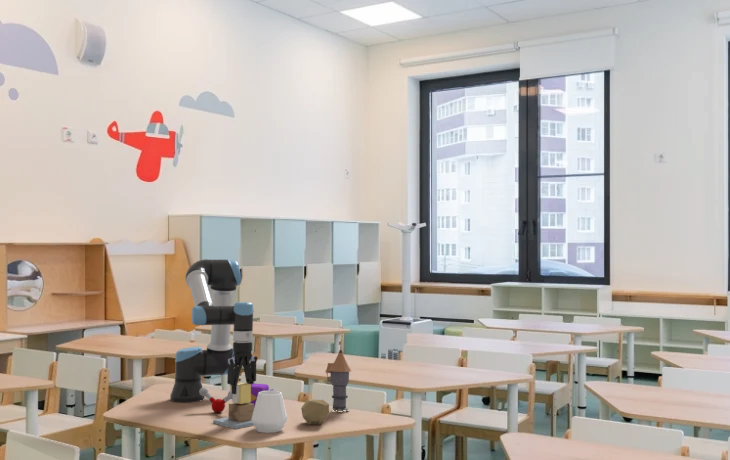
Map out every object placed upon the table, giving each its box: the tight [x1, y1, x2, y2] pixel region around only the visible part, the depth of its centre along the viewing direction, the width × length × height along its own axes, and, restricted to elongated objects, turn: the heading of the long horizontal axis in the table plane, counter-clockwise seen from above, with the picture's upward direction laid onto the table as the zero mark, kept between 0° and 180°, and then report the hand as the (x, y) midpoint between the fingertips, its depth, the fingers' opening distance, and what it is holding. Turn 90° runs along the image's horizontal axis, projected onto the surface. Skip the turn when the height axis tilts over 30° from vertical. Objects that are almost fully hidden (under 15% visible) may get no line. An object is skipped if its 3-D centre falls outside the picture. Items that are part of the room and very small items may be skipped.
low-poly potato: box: [300, 398, 330, 425], centre depth 277 cm, size 15×11×12 cm
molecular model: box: [199, 386, 233, 414], centre depth 294 cm, size 18×6×10 cm, turn 68°
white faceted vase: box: [251, 390, 288, 434], centre depth 265 cm, size 13×13×14 cm
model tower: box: [325, 341, 352, 411], centre depth 302 cm, size 10×11×30 cm
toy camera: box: [249, 381, 275, 407], centre depth 307 cm, size 11×14×10 cm
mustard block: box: [232, 382, 251, 404], centre depth 276 cm, size 5×5×7 cm
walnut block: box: [227, 402, 254, 422], centre depth 276 cm, size 7×7×6 cm
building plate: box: [212, 416, 254, 430], centre depth 276 cm, size 14×16×1 cm
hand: (241, 401), depth 276 cm, fingers closed on mustard block, 5 cm apart
